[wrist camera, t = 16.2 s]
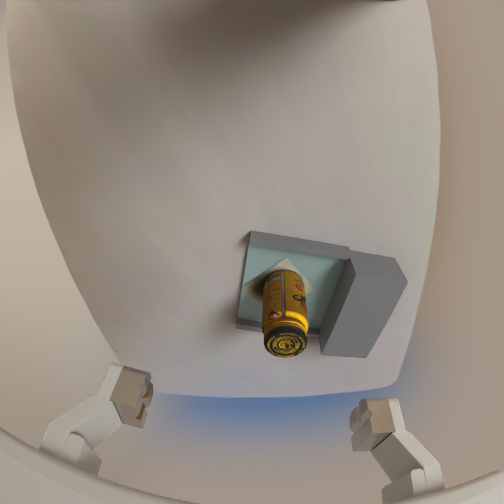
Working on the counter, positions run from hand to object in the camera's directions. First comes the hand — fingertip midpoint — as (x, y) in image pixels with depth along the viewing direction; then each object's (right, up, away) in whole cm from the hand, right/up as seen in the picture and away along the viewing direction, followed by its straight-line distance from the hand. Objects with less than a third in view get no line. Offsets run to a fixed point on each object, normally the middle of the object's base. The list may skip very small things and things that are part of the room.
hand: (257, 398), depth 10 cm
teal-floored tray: (+9, -1, +36) cm, 37 cm away
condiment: (+4, 0, +36) cm, 36 cm away
